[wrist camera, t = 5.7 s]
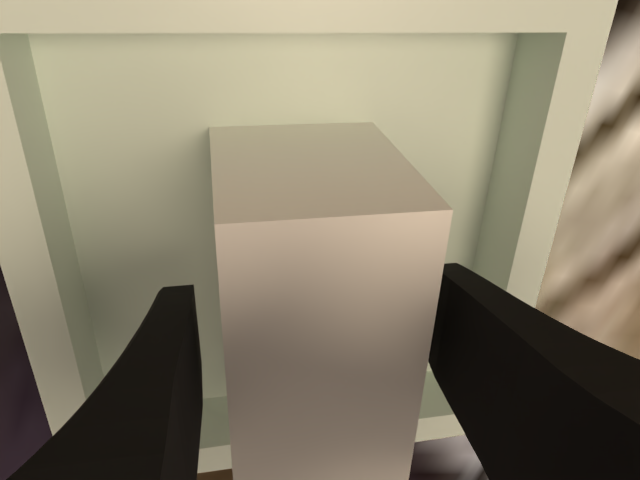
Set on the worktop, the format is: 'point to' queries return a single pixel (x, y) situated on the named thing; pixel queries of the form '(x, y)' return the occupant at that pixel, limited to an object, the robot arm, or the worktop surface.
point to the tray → (253, 110)
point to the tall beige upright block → (324, 298)
